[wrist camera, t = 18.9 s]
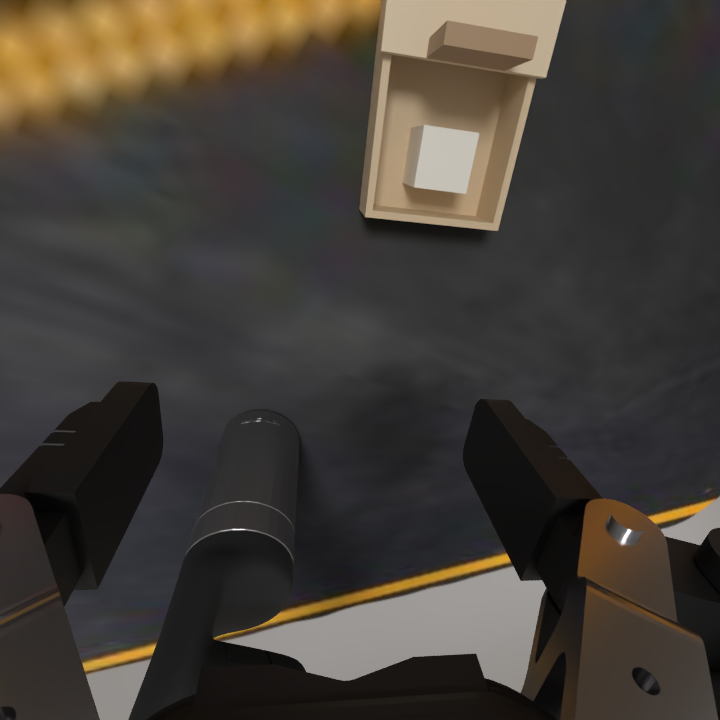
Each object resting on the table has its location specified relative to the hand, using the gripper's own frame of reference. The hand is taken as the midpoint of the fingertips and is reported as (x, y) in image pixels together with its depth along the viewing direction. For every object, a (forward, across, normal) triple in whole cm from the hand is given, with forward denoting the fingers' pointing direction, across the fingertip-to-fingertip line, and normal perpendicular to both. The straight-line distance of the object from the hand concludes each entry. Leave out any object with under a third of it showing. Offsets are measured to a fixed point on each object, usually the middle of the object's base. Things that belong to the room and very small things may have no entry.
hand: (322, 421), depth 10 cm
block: (+32, -10, -7) cm, 34 cm away
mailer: (+32, -10, -11) cm, 36 cm away
